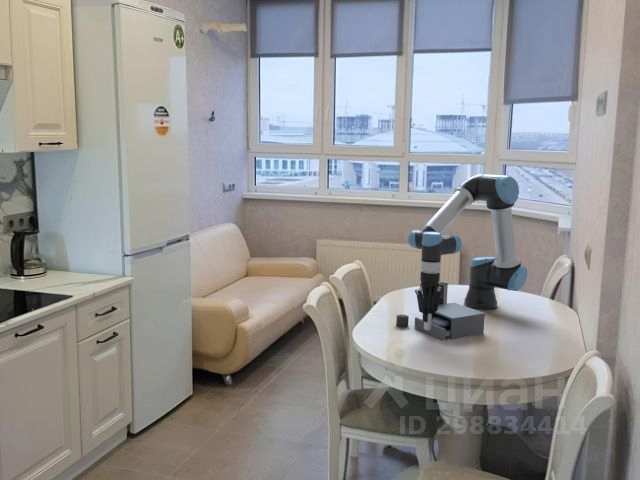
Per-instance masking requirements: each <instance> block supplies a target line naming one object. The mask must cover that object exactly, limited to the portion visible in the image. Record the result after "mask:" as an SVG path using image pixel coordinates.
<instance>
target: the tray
mask: <svg viewBox="0 0 640 480" xmlns="http://www.w3.org/2000/svg"><path fill="white" fill-rule="evenodd" d="M422 319H423V318H421V317H417V316H416V317H414V328H415V329H418V330H420V331H421V332H424V333H427V334H429V335H431V336H433V337H436V338H437V339H441V340H442V341H445V340H447V339H446V338H447V337H446V336H450V331H451V320H450V325H449V326H437V325H435V324H432V323H431V330H426V329H424V321H423V320H422Z"/></svg>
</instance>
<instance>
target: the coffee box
mask: <svg viewBox="0 0 640 480" xmlns="http://www.w3.org/2000/svg"><path fill="white" fill-rule="evenodd" d="M438 283H439V286H440V287H442V288H444V290H443V292H442V294H441V298H440V302H439V305H440V304H447V303H448V285H449V283H448V282H443V281H439V282H438Z"/></svg>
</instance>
